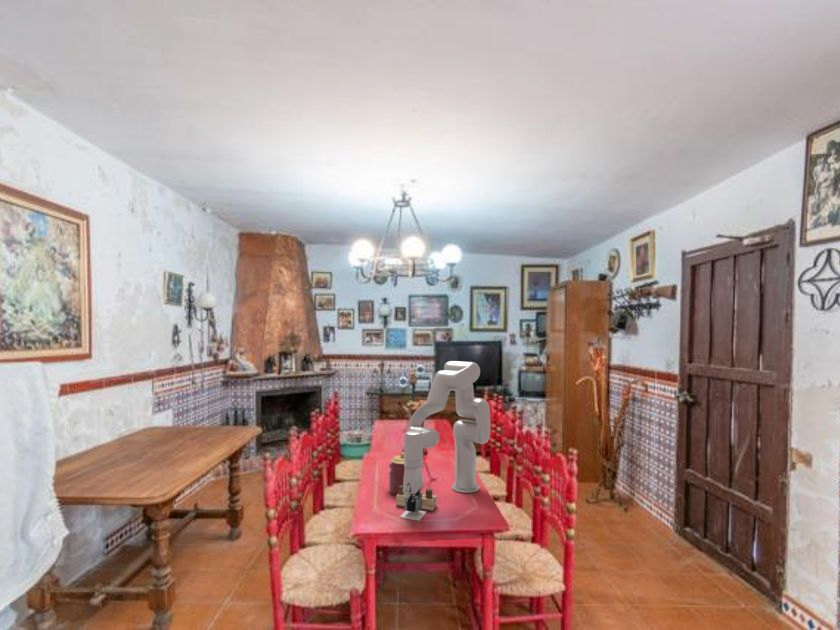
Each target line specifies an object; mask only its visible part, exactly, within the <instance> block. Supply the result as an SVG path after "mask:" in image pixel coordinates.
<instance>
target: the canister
mask: <svg viewBox="0 0 840 630" xmlns="http://www.w3.org/2000/svg"><path fill="white" fill-rule="evenodd" d="M388 467H389V472H388V476H389V477H388V481H389V482H388V483H389V484H388V489H389V490H388V491H389V493H390V494H392V495H395V496H396V495H397V494H398V487H399V486H400V485H402V486H403V481H404V470H405V467H404V451H402V452H400V454H397V455H394V457H392V458H391V459H390V463H389V464H388Z"/></svg>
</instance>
